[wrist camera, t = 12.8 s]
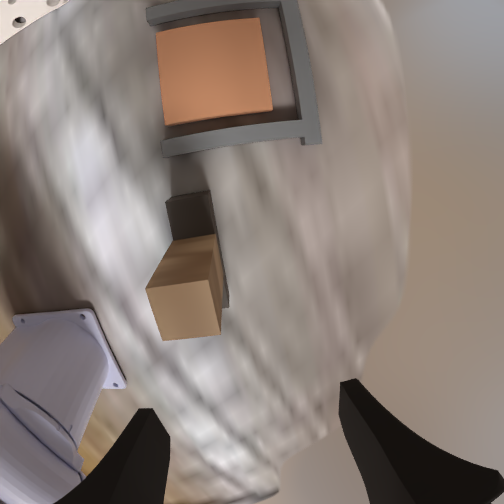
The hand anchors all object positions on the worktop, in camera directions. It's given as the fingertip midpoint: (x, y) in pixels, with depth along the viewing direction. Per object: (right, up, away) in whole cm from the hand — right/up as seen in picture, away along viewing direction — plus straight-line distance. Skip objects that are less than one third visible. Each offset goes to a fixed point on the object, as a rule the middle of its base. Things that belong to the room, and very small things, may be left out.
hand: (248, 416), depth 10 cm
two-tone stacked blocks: (-3, +6, +9) cm, 11 cm away
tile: (-2, +17, +5) cm, 18 cm away
